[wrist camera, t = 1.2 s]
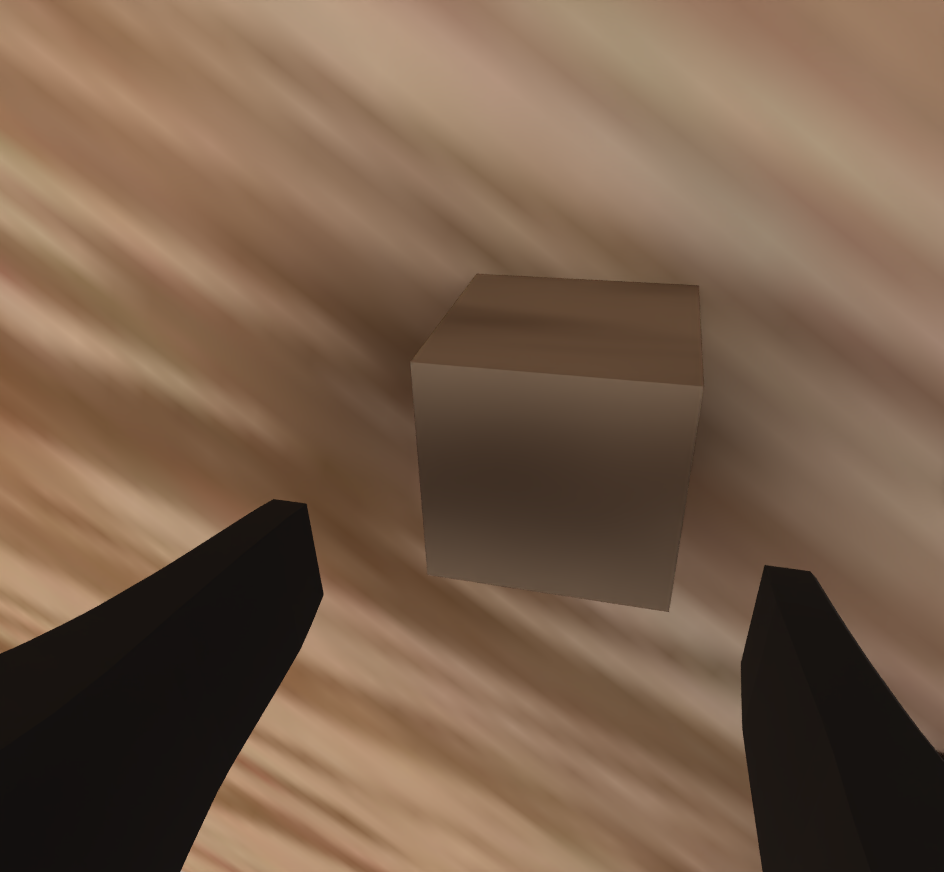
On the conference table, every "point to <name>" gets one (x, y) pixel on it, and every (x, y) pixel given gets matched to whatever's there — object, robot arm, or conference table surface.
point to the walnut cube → (560, 435)
